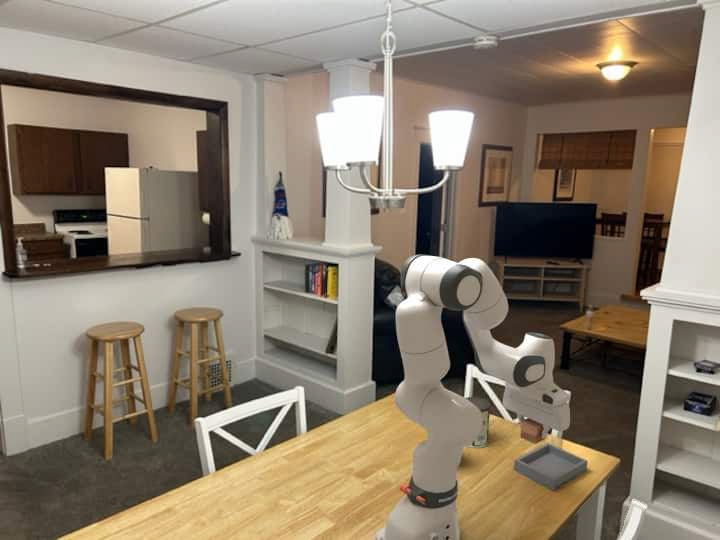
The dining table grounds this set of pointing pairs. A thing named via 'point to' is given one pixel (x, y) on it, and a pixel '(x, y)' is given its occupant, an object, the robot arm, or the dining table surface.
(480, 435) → the coffee can
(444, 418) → the robot arm
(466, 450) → the dining table surface
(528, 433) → the block
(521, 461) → the tray
